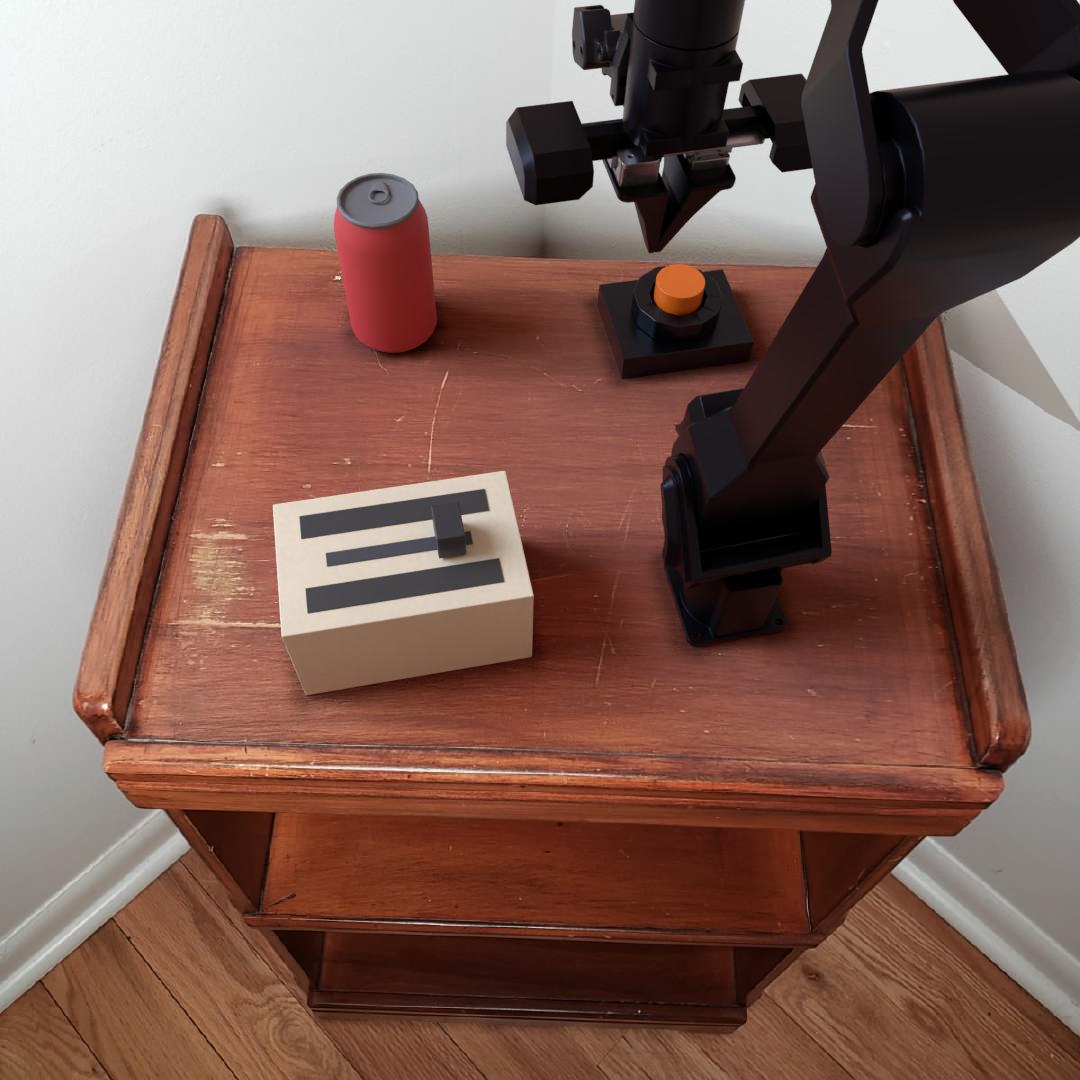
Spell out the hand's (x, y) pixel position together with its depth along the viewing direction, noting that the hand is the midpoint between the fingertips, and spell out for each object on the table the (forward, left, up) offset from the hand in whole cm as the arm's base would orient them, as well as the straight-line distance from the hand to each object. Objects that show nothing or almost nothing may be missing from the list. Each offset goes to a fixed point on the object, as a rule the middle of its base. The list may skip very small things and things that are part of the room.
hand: (652, 248), depth 67 cm
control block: (+3, -4, -12) cm, 12 cm away
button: (+3, -4, -8) cm, 9 cm away
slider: (-18, +16, -4) cm, 25 cm away
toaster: (-18, +19, -12) cm, 29 cm away
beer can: (+8, +17, -12) cm, 22 cm away
